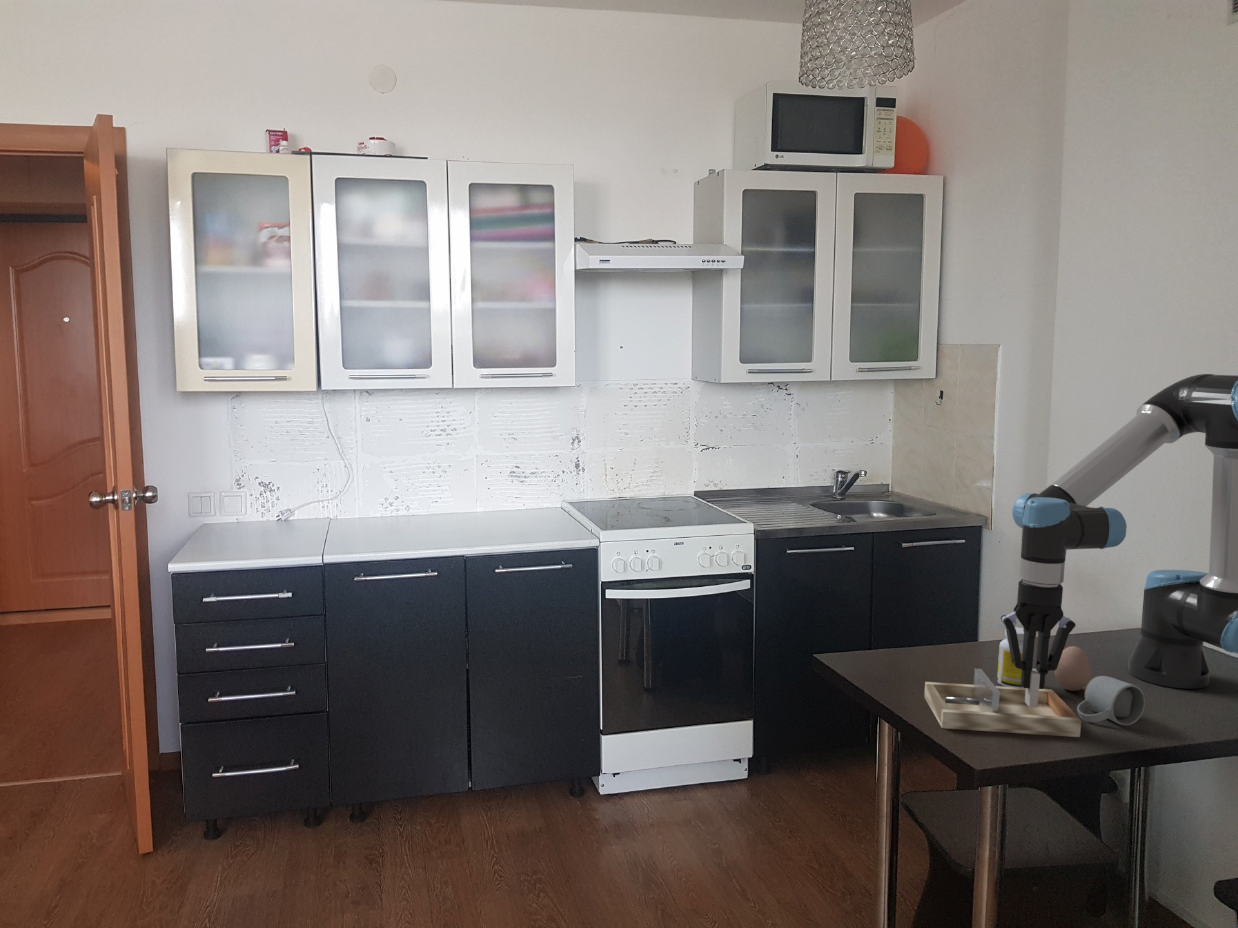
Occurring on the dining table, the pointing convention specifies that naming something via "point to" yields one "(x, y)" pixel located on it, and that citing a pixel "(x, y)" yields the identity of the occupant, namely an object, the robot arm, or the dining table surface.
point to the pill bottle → (1009, 663)
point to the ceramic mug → (1112, 701)
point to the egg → (1073, 669)
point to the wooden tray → (1003, 711)
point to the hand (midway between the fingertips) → (1031, 704)
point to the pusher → (980, 694)
